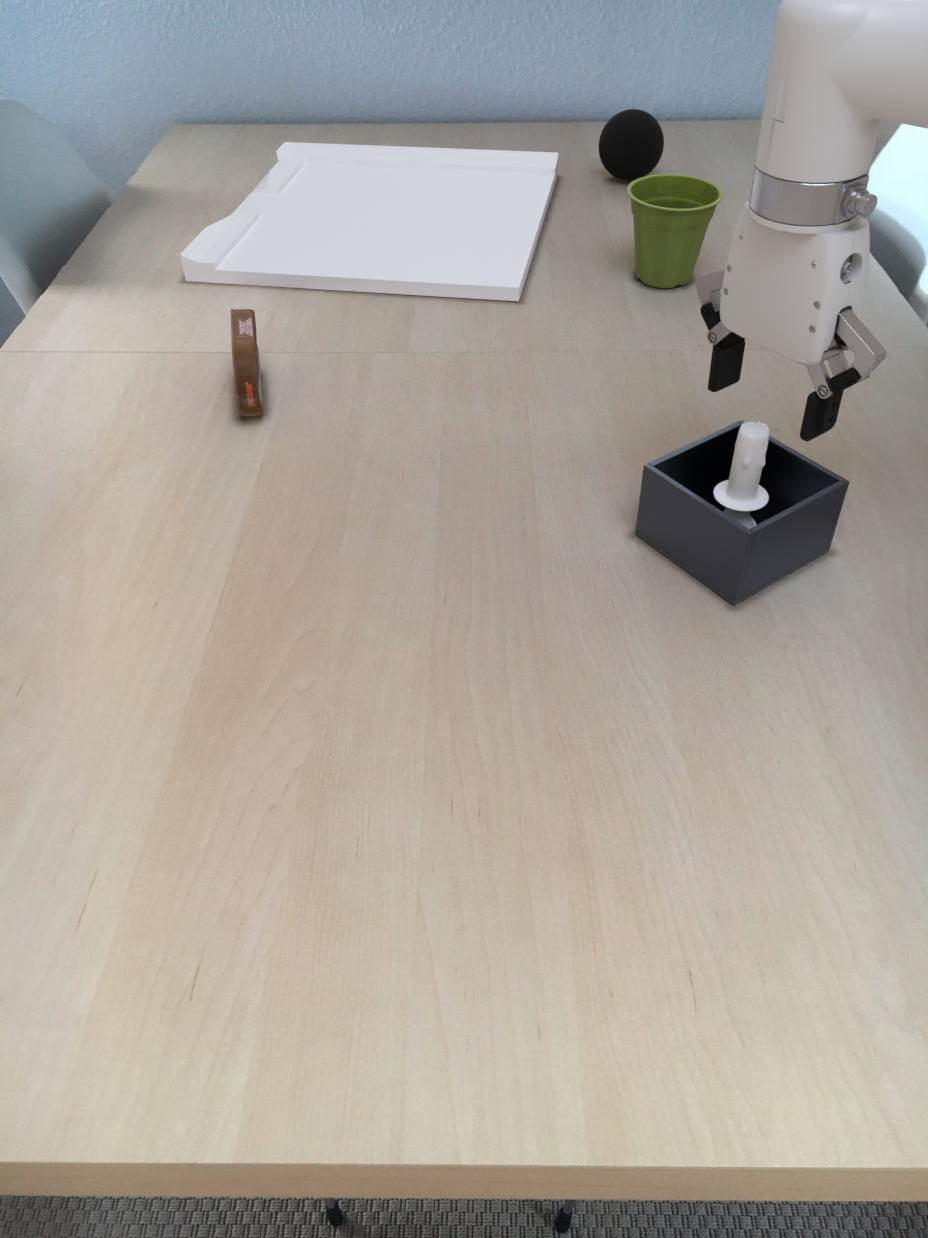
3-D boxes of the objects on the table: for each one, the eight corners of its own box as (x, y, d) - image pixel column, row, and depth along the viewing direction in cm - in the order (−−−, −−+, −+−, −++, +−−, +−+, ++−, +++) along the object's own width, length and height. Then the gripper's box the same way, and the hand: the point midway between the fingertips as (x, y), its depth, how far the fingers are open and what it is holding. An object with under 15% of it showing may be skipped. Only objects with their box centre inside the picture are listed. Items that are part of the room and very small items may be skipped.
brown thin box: (237, 364, 116) (224, 295, 110) (264, 361, 116) (253, 292, 110) (240, 432, 105) (225, 360, 99) (270, 429, 105) (257, 357, 99)
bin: (728, 487, 96) (741, 419, 91) (829, 551, 89) (850, 481, 83) (634, 534, 91) (643, 465, 86) (733, 606, 83) (749, 535, 78)
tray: (518, 301, 126) (519, 273, 123) (185, 280, 132) (179, 254, 130) (557, 176, 158) (558, 152, 156) (288, 164, 165) (284, 141, 162)
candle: (735, 513, 92) (759, 399, 84) (774, 544, 88) (803, 429, 80) (689, 531, 90) (709, 416, 82) (727, 563, 87) (752, 447, 78)
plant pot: (626, 299, 126) (635, 209, 118) (612, 260, 134) (620, 174, 127) (718, 296, 126) (733, 206, 118) (699, 257, 135) (712, 171, 127)
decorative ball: (588, 185, 155) (592, 116, 148) (606, 164, 162) (611, 97, 155) (650, 193, 152) (658, 123, 145) (666, 171, 159) (674, 103, 152)
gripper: (950, 212, 65) (887, 437, 76) (750, 150, 75) (721, 355, 87) (876, 244, 62) (822, 473, 73) (678, 174, 72) (658, 383, 84)
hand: (767, 409), depth 80 cm, fingers open, 9 cm apart
